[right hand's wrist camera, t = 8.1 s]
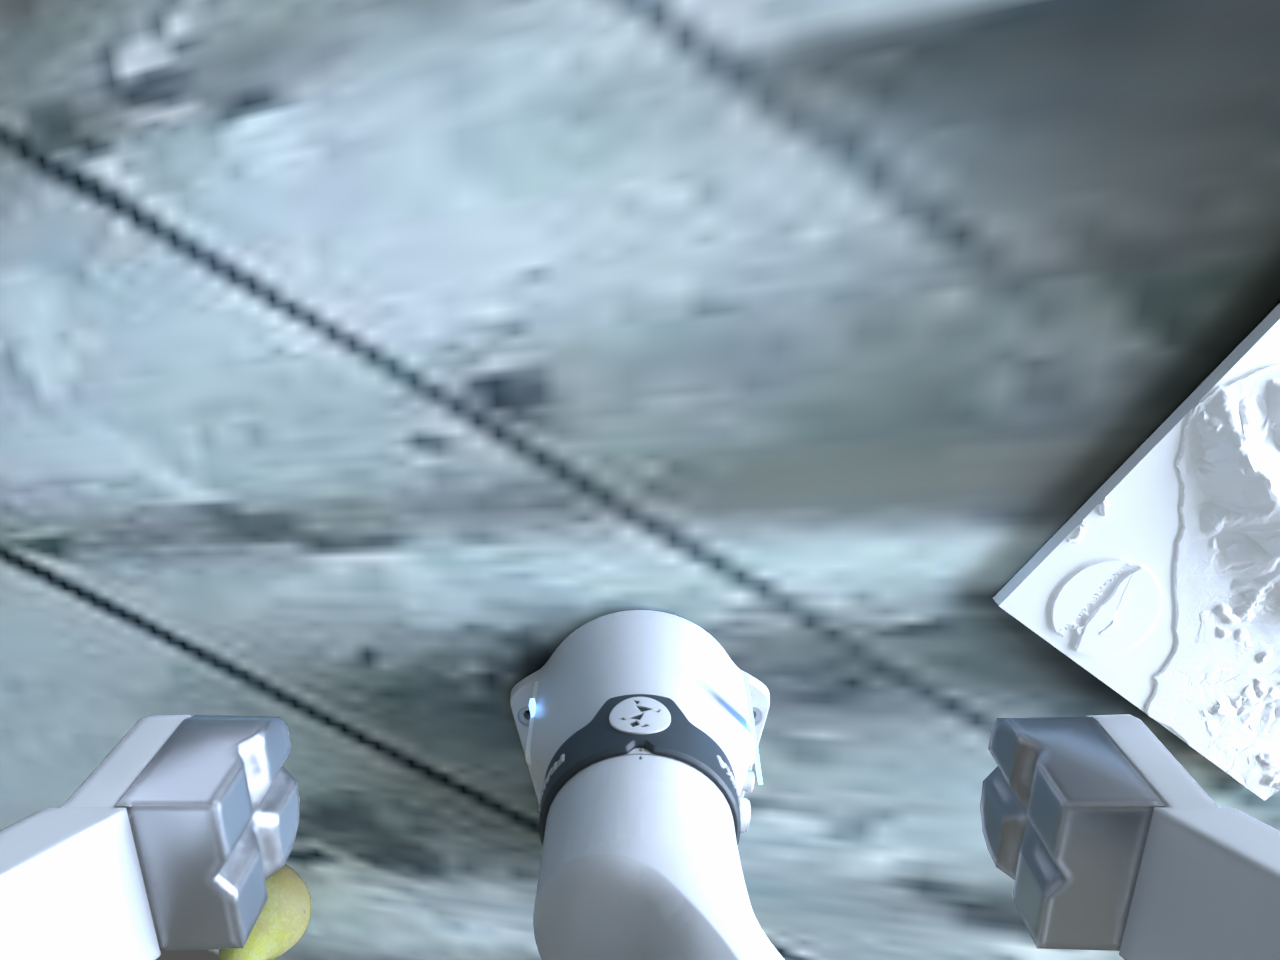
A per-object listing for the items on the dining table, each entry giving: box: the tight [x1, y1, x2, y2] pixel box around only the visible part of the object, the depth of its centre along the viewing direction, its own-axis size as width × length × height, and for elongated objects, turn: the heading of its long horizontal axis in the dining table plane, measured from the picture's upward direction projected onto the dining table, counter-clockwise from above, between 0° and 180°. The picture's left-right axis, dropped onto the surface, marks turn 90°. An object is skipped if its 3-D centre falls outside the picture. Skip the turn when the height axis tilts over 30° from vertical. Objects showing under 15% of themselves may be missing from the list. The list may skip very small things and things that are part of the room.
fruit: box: [219, 865, 311, 960], centre depth 66 cm, size 7×8×12 cm
